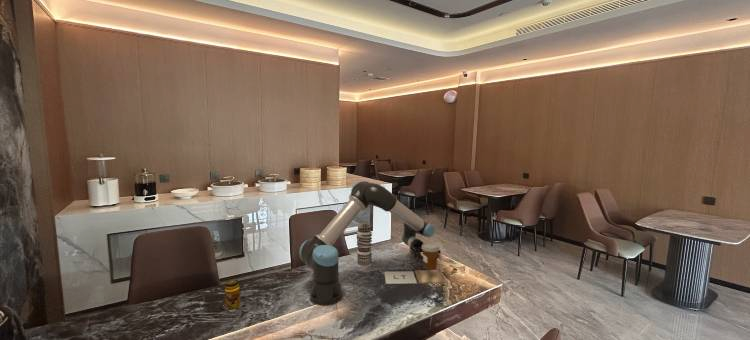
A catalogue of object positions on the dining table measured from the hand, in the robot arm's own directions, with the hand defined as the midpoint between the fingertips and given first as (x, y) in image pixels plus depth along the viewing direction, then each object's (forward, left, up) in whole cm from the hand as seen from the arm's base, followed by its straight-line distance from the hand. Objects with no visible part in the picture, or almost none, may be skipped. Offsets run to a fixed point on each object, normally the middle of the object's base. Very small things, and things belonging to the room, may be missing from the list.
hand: (434, 259), depth 164 cm
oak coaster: (-1, +4, -12) cm, 13 cm away
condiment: (-95, -22, -12) cm, 98 cm away
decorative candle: (-36, +22, -12) cm, 44 cm away
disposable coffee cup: (-1, +5, -6) cm, 8 cm away
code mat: (-17, +4, -12) cm, 21 cm away
